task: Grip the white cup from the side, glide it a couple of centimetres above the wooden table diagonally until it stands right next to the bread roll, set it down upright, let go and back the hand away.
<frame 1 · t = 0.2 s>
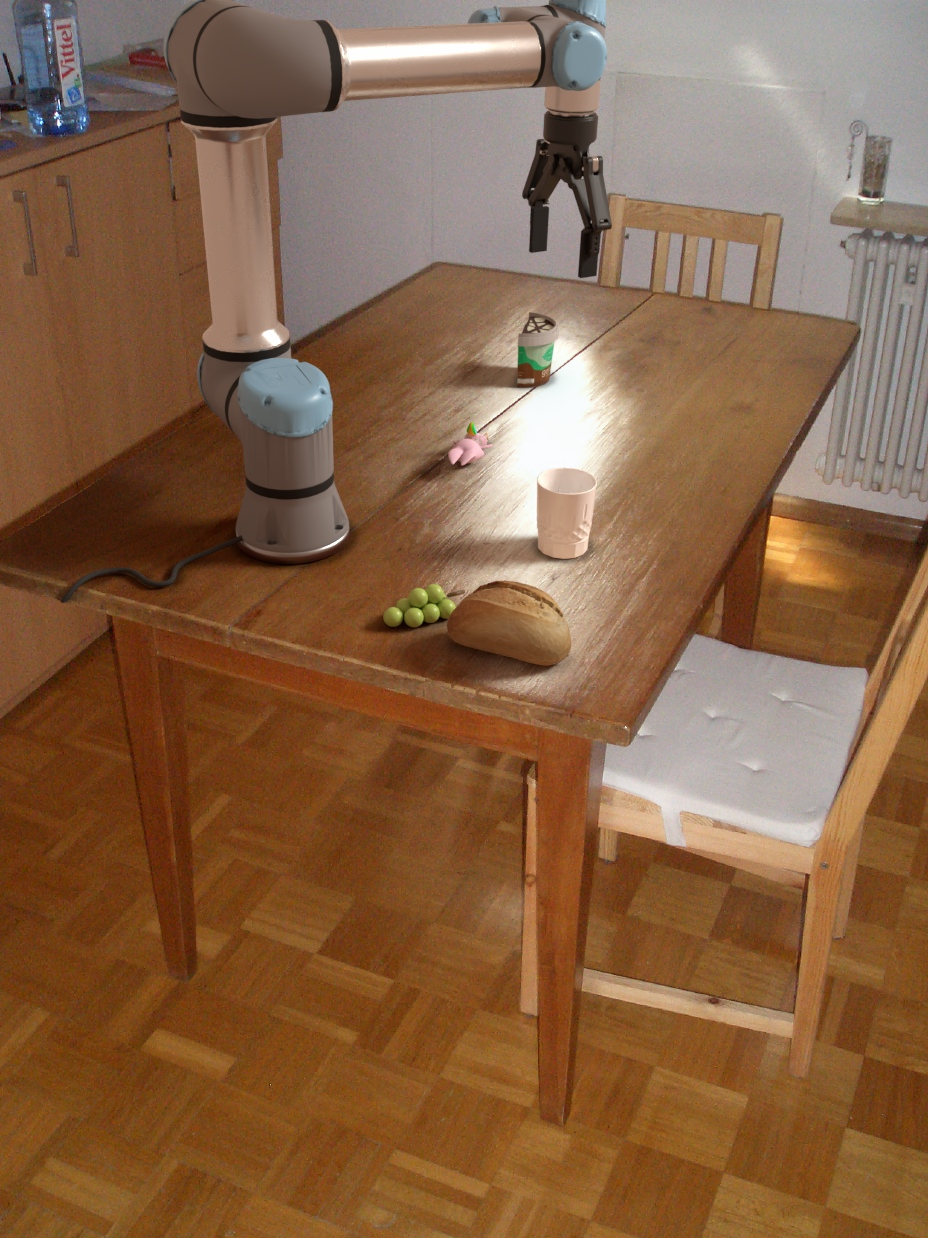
hand: (561, 263, 187), 28 cm above the table, tool pointing down, fingers open, 13 cm apart
bread roll: (508, 650, 150), on the table
grapes: (418, 618, 155), on the table
rabbit figure: (468, 461, 194), on the table
white cup: (562, 548, 171), on the table
food container: (538, 380, 223), on the table
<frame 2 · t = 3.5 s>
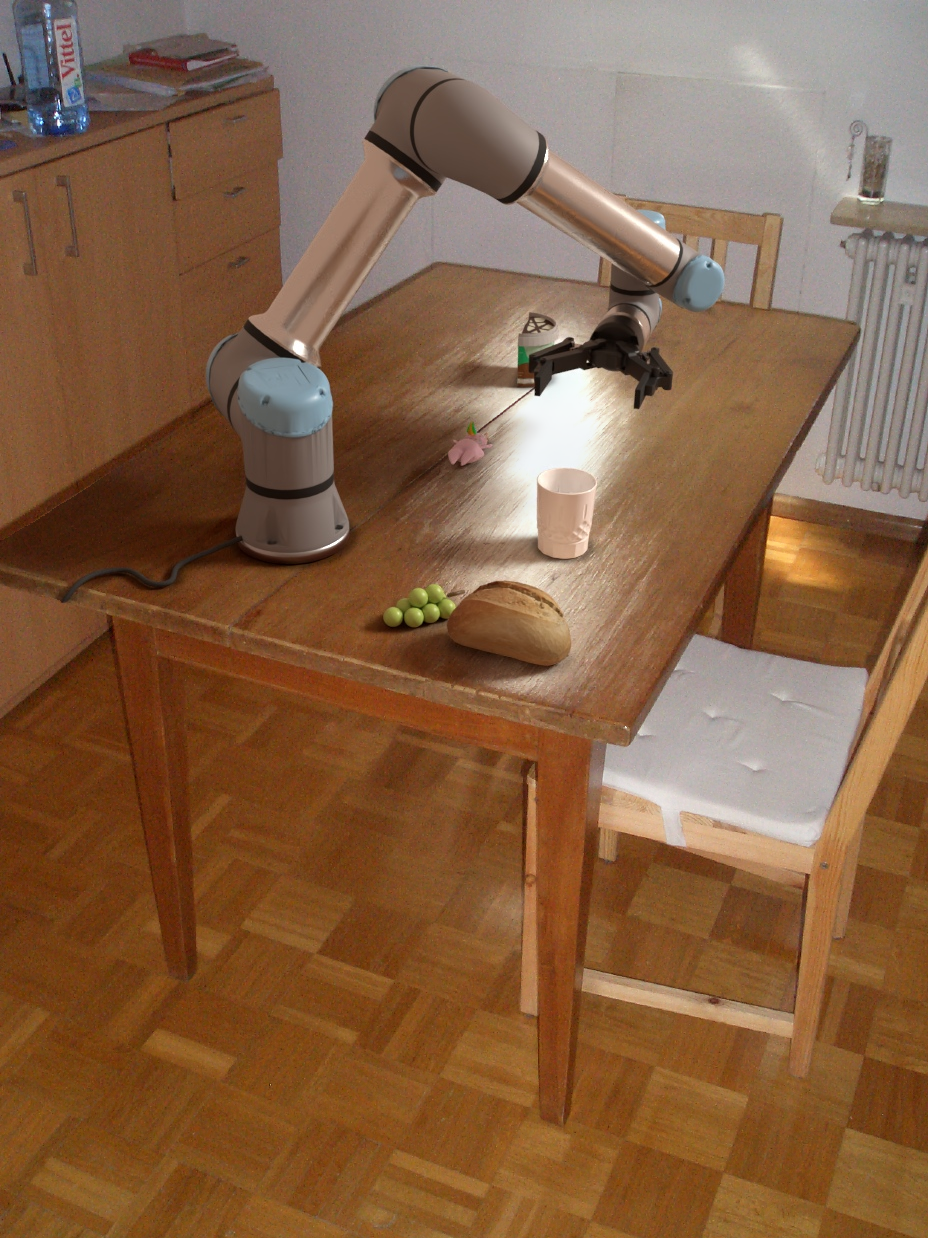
hand: (586, 393, 169), 19 cm above the table, tool horizontal, fingers open, 13 cm apart
nothing on the table moved.
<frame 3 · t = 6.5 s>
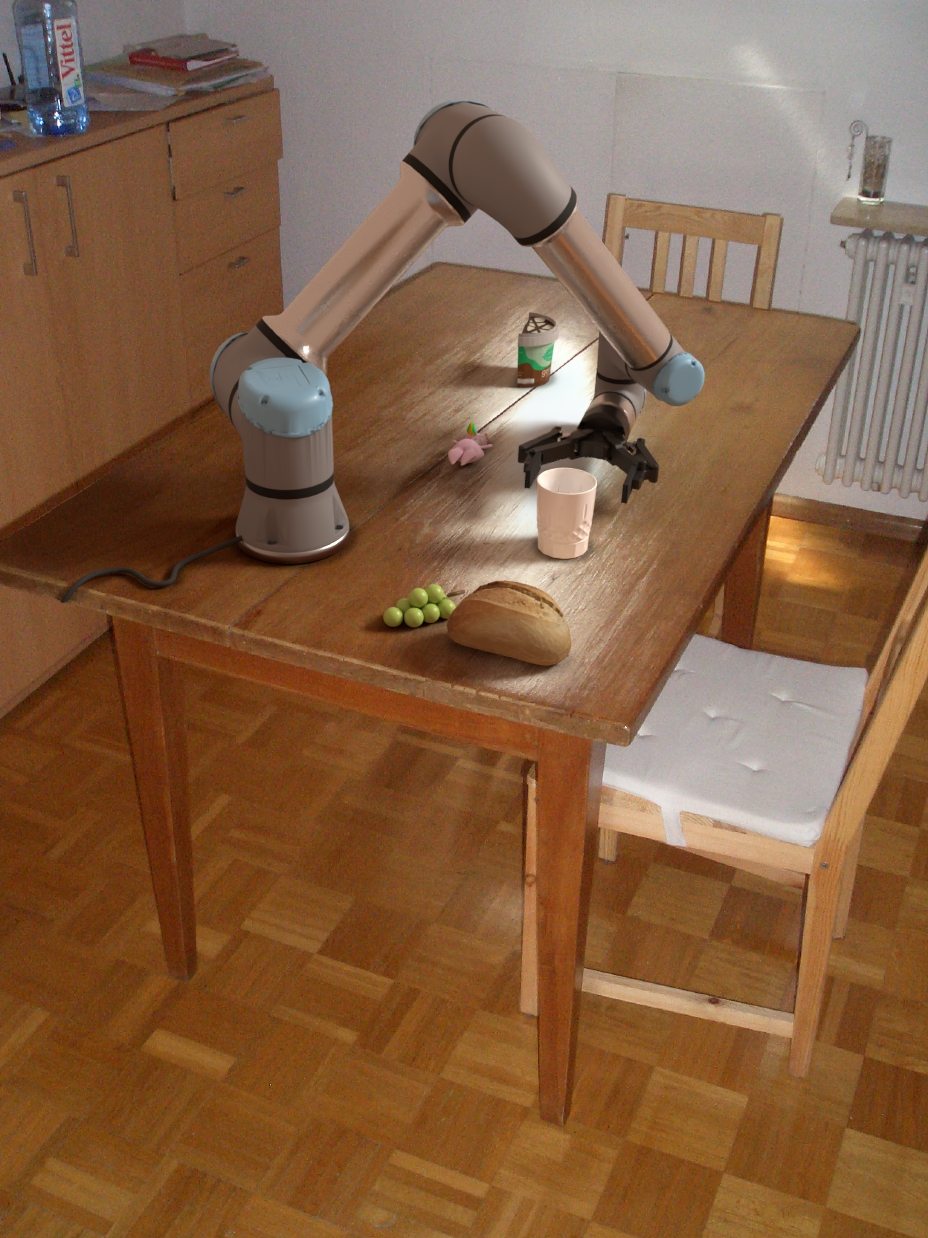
hand: (575, 487, 173), 6 cm above the table, tool horizontal, fingers open, 13 cm apart
nothing on the table moved.
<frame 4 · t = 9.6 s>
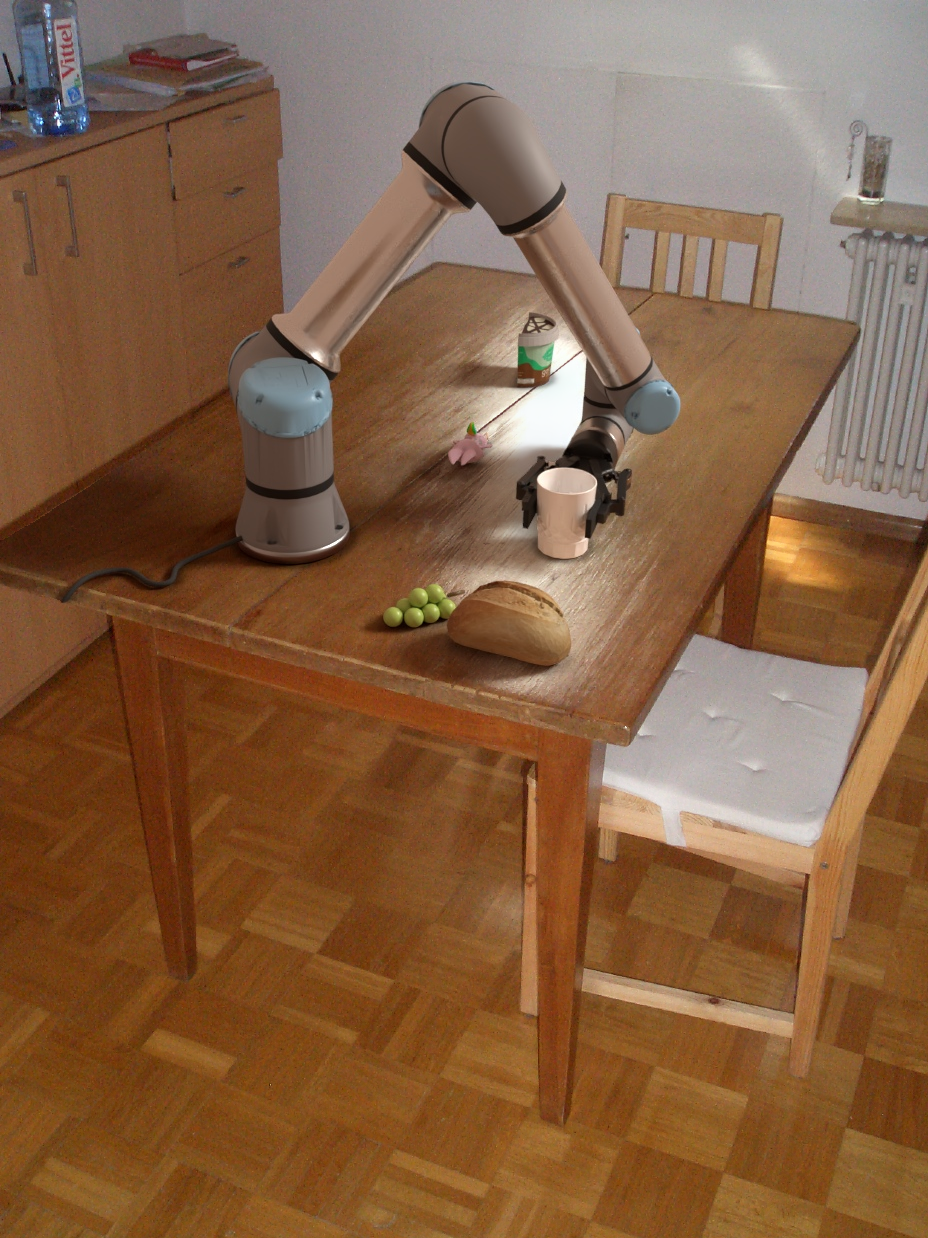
hand: (556, 523, 164), 6 cm above the table, tool horizontal, fingers closed on white cup, 8 cm apart
white cup: (562, 548, 171), on the table, touching gripper
everything else where it was.
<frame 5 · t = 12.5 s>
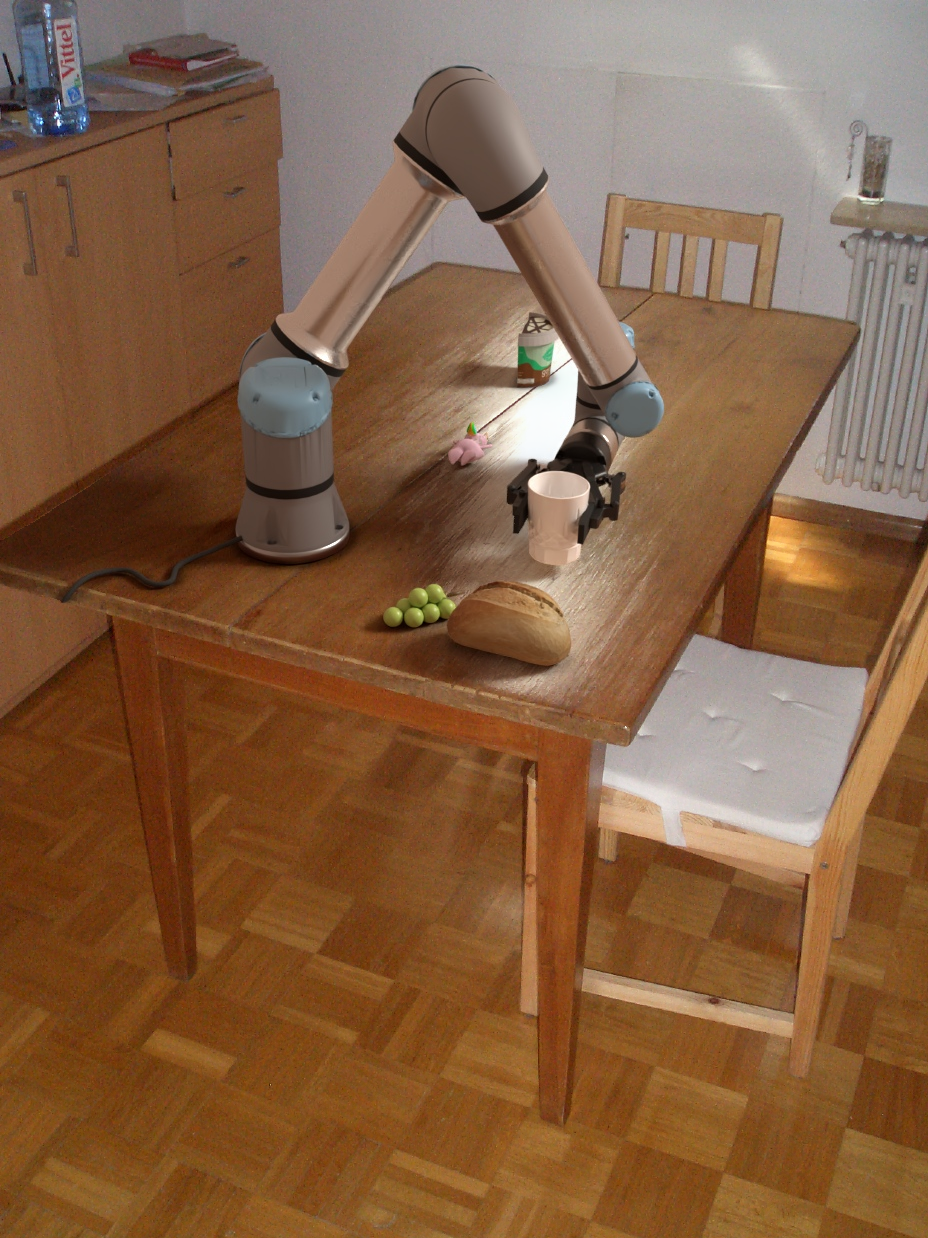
hand: (548, 529, 159), 8 cm above the table, tool horizontal, fingers closed on white cup, 8 cm apart
white cup: (554, 554, 166), point 2 cm above the table, touching gripper
everything else where it was.
when the fingers open (6 cm above the table, at t = 15.6 s): white cup stays where it is, on the table.
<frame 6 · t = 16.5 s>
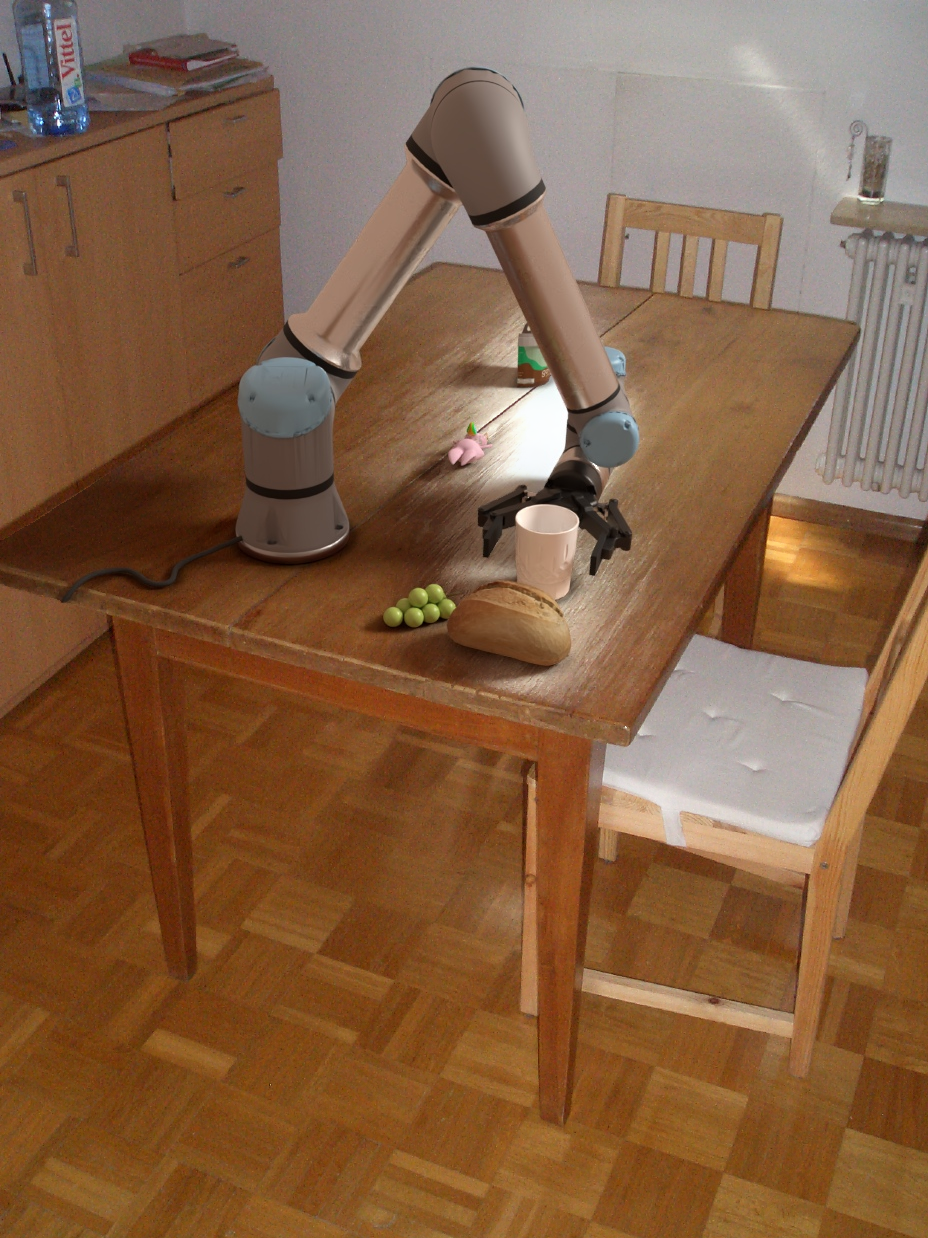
hand: (538, 557, 156), 6 cm above the table, tool horizontal, fingers open, 13 cm apart
white cup: (542, 589, 162), on the table
everything else where it was.
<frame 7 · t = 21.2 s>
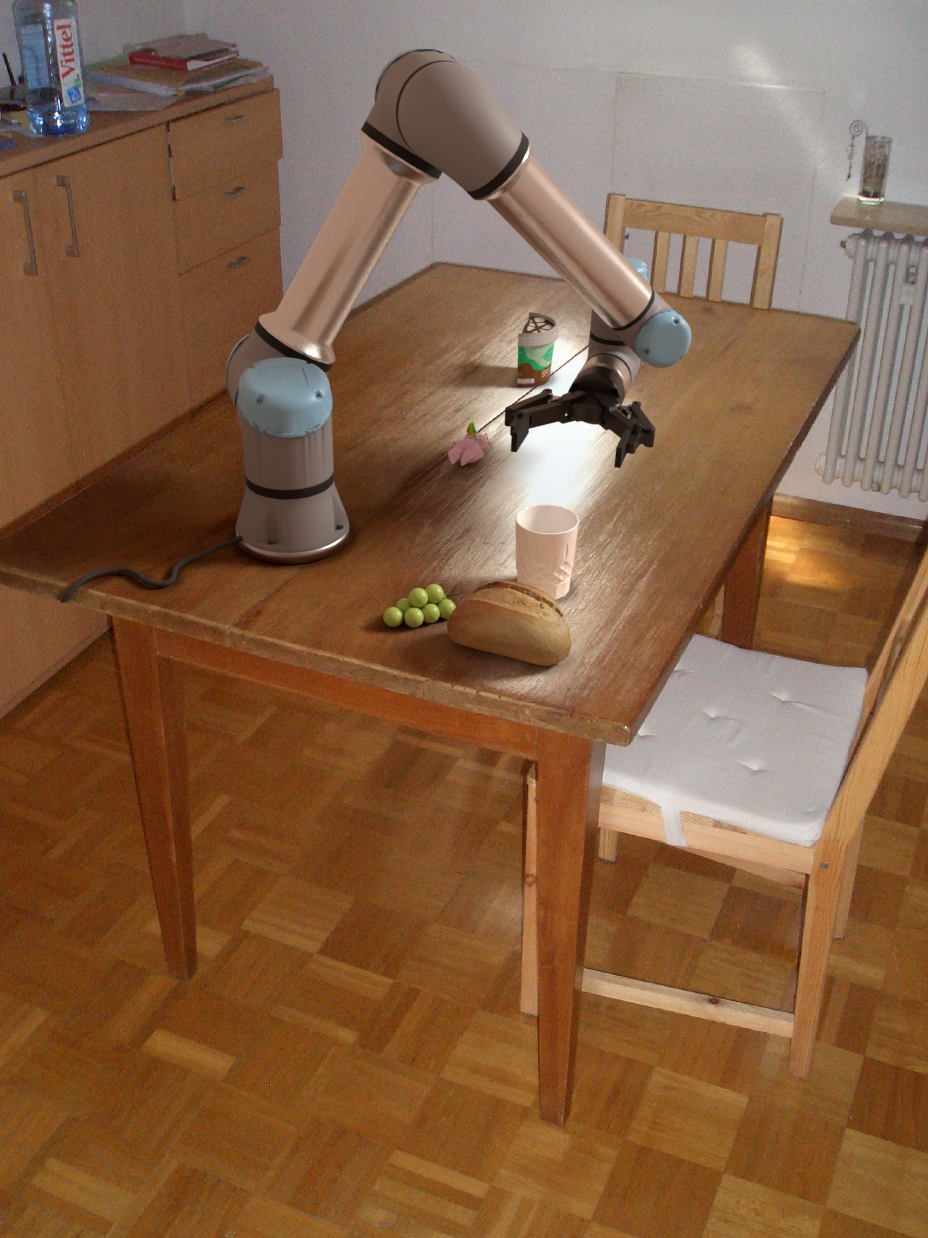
hand: (565, 450, 161), 15 cm above the table, tool horizontal, fingers open, 13 cm apart
nothing on the table moved.
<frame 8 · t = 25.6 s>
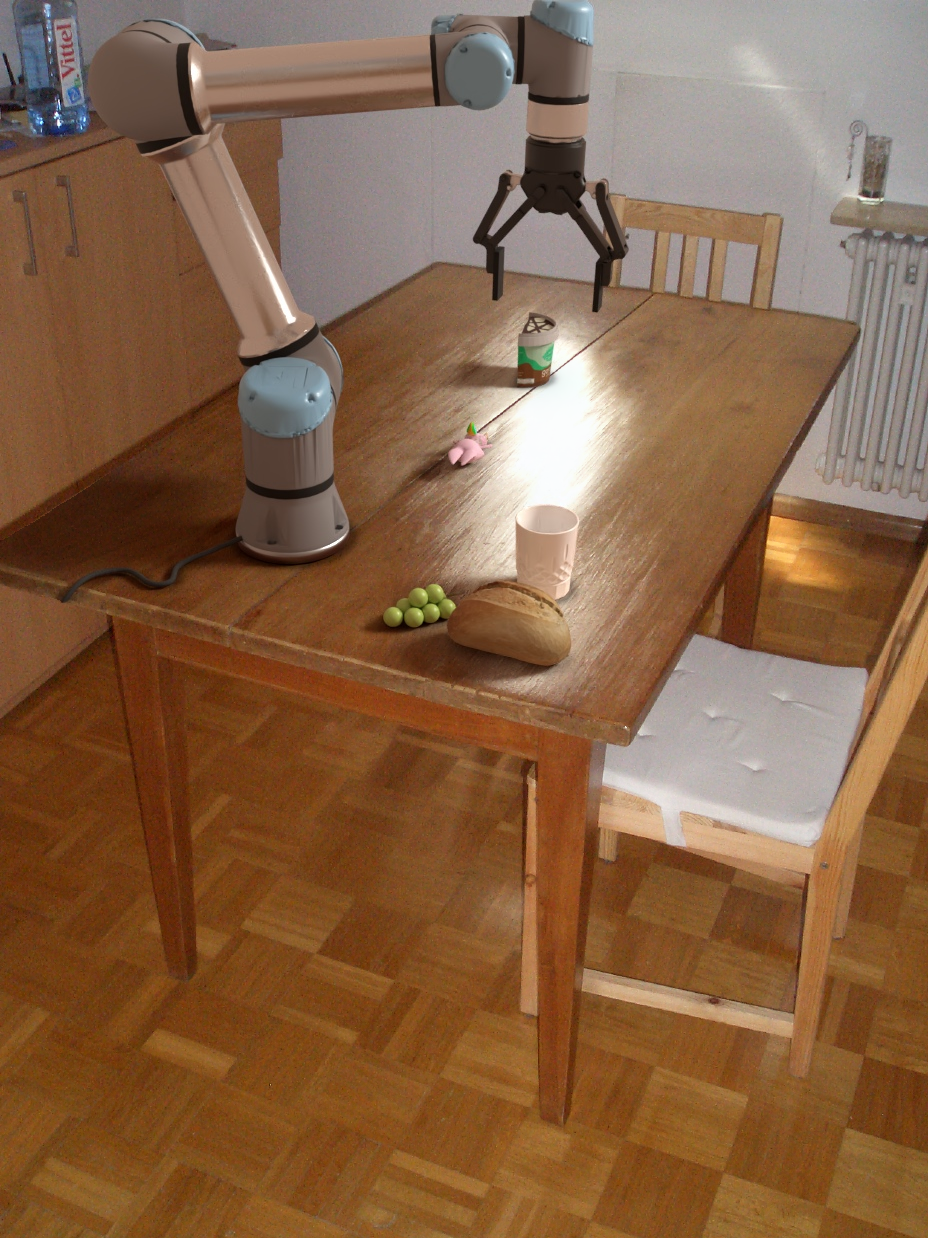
hand: (546, 303, 168), 29 cm above the table, tool pointing down, fingers open, 13 cm apart
nothing on the table moved.
at the end: white cup 15.0 cm from the bread roll (horizontally); white cup tilted 0°; bread roll moved 0.2 cm from its start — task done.
